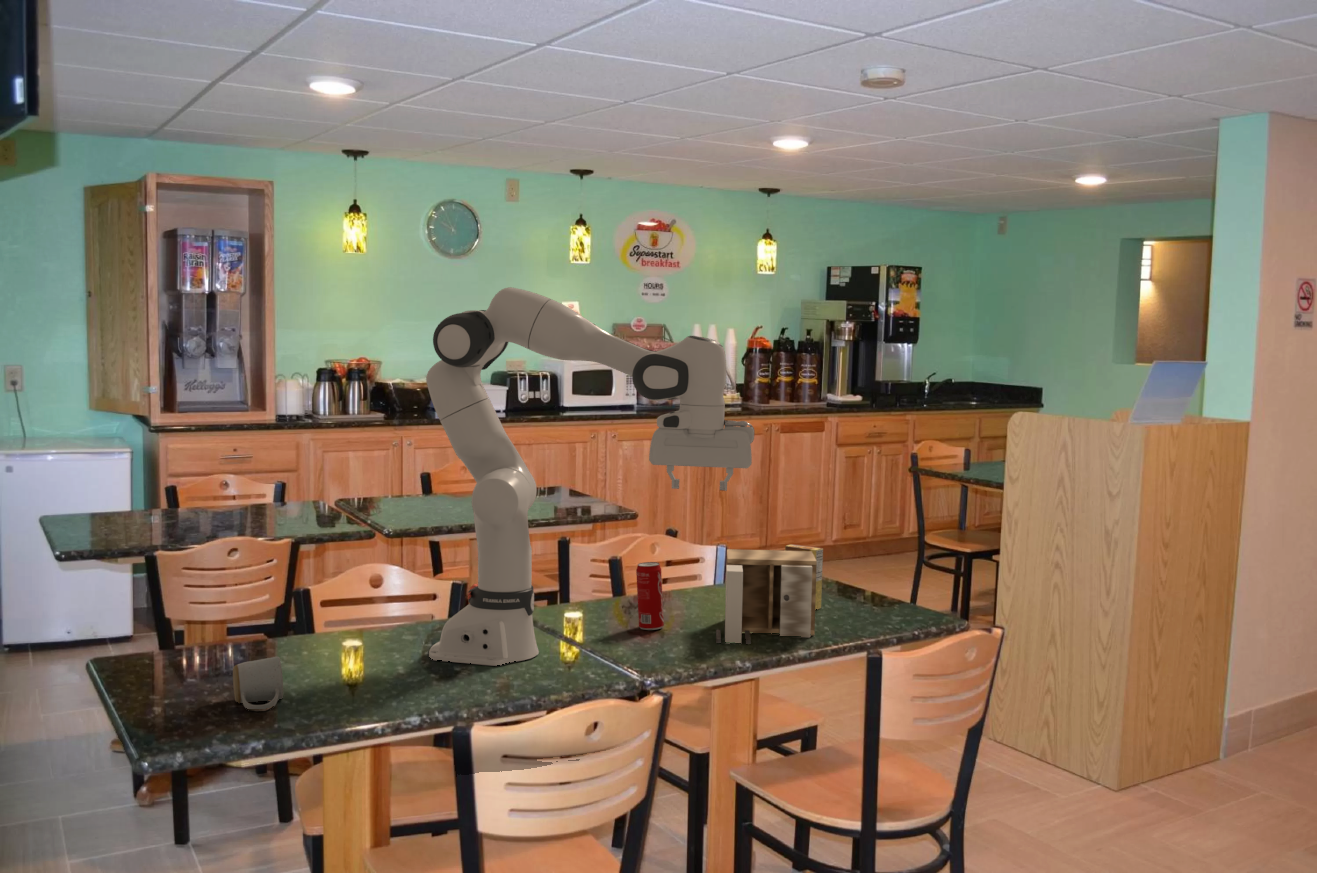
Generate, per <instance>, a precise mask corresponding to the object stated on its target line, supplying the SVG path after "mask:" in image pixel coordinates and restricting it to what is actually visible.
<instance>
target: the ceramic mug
mask: <svg viewBox="0 0 1317 873" xmlns="http://www.w3.org/2000/svg"><path fill="white" fill-rule="evenodd" d="M232 684H233V694H234V695H233V696H234V700H235V702H236V703H237V702H238V704H240V703H243V704H242V705H243V707H244V708H245V709H246V708H247V709H266V708H270V707H272V706H274V707H276V705H277V703H278V701H279V700H278V699H282V698H283V699H284V678H283V668H282V661H281V658H280V656H273V657H267V658H261V659H257V660H256V659H255V660H250V661H244V662H241V663H237V664H235V665H234V666H233V668H232ZM283 699H282V700H283ZM268 700H271V701H268ZM258 701H267V703H265V704H253V703H248V702H256V703H259V702H258ZM247 709H246V710H247Z"/></svg>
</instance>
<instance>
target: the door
mask: <svg viewBox="0 0 1317 873" xmlns="http://www.w3.org/2000/svg"><path fill="white" fill-rule="evenodd" d="M725 565H726V564H725ZM725 567H726V569H725V570H726V572H725V576H726V577H725V607H724V608H725V609H724V611H725V615H724V618H725V619H724V643H725V642H735V643H741V644H742V634H743V633H742V594H743V568H742V565H726V566H725Z"/></svg>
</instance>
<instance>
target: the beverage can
mask: <svg viewBox="0 0 1317 873" xmlns="http://www.w3.org/2000/svg"><path fill="white" fill-rule="evenodd" d="M635 572H636V573H635V574H636V592H637V593H636V594H637V614H638V617H637V618H638V627H639V628H640V630H645V631H655V630H656V631H657V630H659V629H662V628H663V627H664V625H665V623H664V622H665V621H664V620H665V619H664V603H663V602H664V600H663V599H664V598H663V580H662V579H663V578H662V576H663V574H662V567H661V565H660V563H659V562H657V561H645V562H639V563H638V564H637V567H636V570H635Z"/></svg>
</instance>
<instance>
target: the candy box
mask: <svg viewBox="0 0 1317 873" xmlns="http://www.w3.org/2000/svg"><path fill="white" fill-rule="evenodd" d="M784 551H812V553H813V555H814V557H815V559H816V561H817V567H816V601H815V611H817V610H820V609H821V608H822V588H823V565H824V564H823V561H824V548H823V547H819V546H818V547H816V546H809V545H800V544H792V543H791V544H787V545H785V547H784ZM816 609H817V610H816Z"/></svg>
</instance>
